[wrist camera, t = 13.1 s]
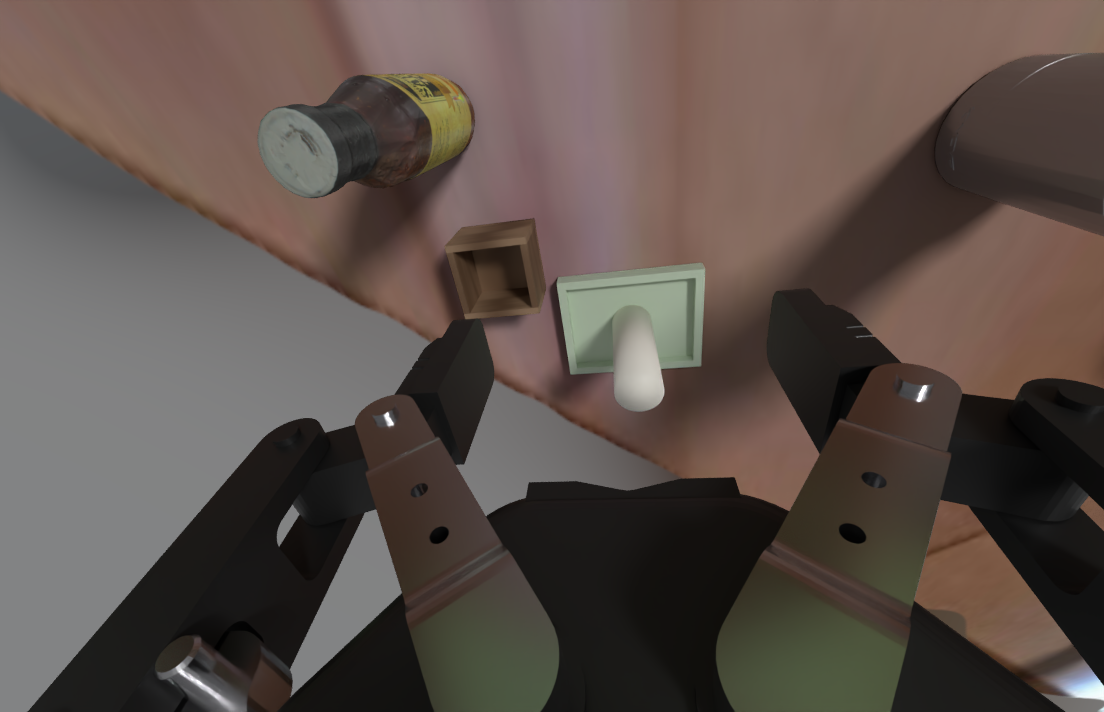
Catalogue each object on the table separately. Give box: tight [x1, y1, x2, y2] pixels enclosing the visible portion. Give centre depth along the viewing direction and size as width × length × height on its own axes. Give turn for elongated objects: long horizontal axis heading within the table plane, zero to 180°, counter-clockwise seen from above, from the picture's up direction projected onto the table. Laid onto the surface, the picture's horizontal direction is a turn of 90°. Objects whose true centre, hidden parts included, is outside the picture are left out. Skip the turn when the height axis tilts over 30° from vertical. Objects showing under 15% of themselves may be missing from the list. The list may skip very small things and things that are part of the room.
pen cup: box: [444, 219, 546, 319], centre depth 41 cm, size 7×7×6 cm
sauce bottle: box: [258, 74, 475, 198], centre depth 29 cm, size 6×6×20 cm
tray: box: [557, 263, 705, 375], centre depth 45 cm, size 14×11×2 cm
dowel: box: [612, 305, 664, 412], centre depth 40 cm, size 4×4×12 cm
